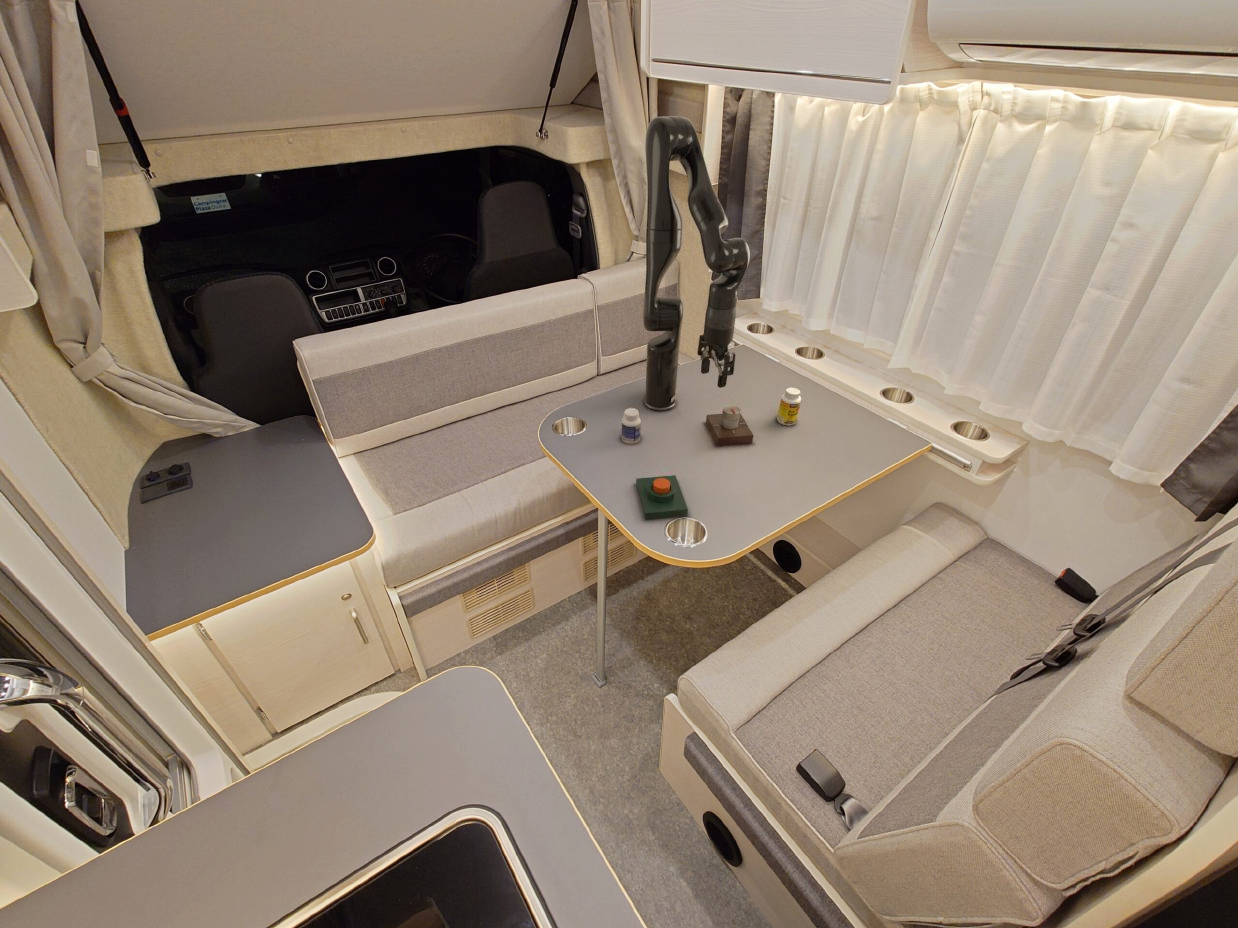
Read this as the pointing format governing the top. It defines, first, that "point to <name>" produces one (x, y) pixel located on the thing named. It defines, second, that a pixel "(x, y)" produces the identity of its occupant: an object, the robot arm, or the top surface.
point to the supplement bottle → (789, 407)
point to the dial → (730, 416)
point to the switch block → (661, 499)
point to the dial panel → (728, 432)
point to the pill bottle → (631, 426)
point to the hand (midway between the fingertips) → (712, 379)
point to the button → (661, 486)
